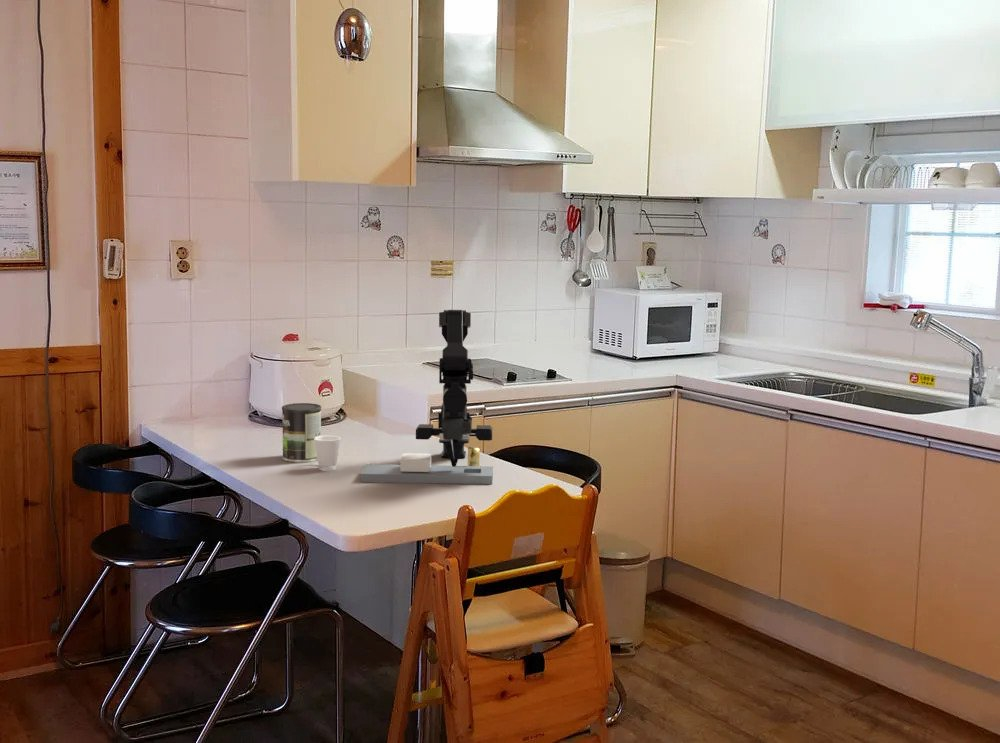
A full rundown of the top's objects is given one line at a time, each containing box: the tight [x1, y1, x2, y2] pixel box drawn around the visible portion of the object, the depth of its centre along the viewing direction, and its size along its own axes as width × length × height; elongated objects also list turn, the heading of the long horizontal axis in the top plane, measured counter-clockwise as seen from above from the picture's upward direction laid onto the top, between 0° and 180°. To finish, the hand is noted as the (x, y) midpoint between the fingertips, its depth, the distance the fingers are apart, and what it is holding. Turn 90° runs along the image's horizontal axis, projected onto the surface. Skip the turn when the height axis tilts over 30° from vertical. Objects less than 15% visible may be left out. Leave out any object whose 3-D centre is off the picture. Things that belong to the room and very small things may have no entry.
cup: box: [314, 435, 341, 472], centre depth 264 cm, size 7×10×8 cm
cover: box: [399, 452, 432, 472], centre depth 255 cm, size 7×7×3 cm
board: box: [360, 463, 494, 485], centre depth 255 cm, size 10×32×2 cm, turn 90°
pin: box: [467, 446, 481, 466], centre depth 263 cm, size 3×3×6 cm
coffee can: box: [281, 402, 322, 464], centre depth 273 cm, size 10×10×14 cm
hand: (454, 466), depth 255 cm, fingers closed
